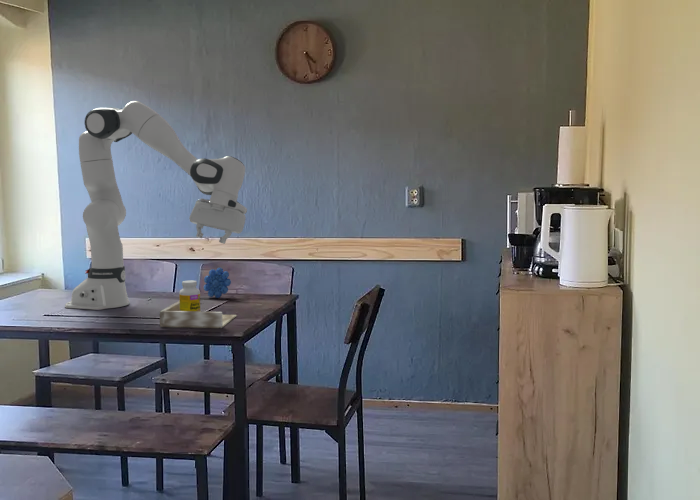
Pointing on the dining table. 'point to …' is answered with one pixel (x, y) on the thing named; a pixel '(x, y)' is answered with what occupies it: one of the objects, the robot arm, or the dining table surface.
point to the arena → (192, 318)
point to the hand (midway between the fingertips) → (210, 240)
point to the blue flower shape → (217, 282)
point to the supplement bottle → (189, 296)
